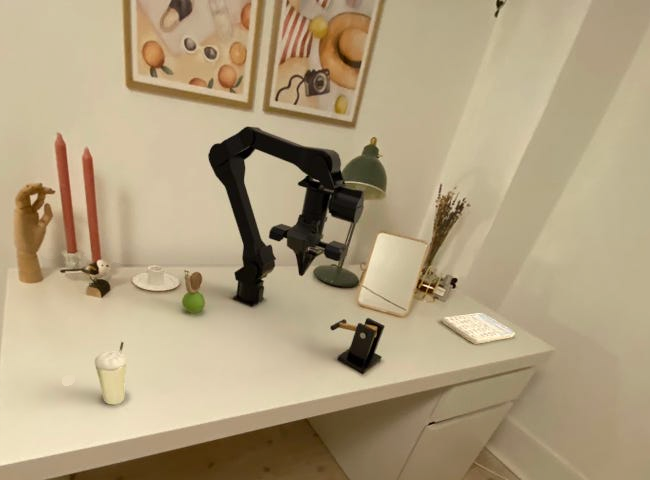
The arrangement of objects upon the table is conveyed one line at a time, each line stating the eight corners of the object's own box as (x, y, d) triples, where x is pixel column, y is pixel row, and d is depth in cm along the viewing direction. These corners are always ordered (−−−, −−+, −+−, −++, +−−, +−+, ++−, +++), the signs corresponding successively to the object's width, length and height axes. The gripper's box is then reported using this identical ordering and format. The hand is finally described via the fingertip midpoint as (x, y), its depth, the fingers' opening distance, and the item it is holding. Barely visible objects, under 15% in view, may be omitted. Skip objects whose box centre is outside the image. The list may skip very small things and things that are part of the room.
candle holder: (188, 286, 105) (188, 272, 102) (151, 297, 96) (150, 281, 94) (161, 271, 110) (161, 257, 108) (123, 279, 101) (122, 264, 99)
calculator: (439, 321, 116) (442, 316, 115) (480, 316, 125) (482, 311, 124) (474, 345, 107) (477, 339, 106) (514, 337, 116) (518, 332, 115)
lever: (330, 332, 88) (330, 322, 87) (342, 325, 92) (342, 316, 91) (368, 341, 82) (369, 331, 81) (379, 334, 86) (380, 324, 85)
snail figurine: (175, 313, 92) (175, 267, 85) (190, 304, 97) (192, 259, 90) (194, 320, 90) (196, 274, 84) (208, 311, 96) (211, 266, 89)
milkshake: (137, 393, 67) (134, 346, 61) (116, 411, 62) (111, 362, 57) (115, 384, 68) (110, 337, 62) (93, 401, 63) (86, 352, 58)
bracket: (336, 360, 87) (348, 323, 82) (355, 347, 94) (367, 313, 88) (362, 374, 84) (375, 337, 79) (380, 360, 91) (393, 325, 85)
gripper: (262, 204, 82) (253, 271, 91) (340, 228, 77) (322, 297, 86) (284, 199, 91) (274, 261, 100) (356, 220, 86) (339, 284, 94)
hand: (301, 275), depth 94 cm, fingers closed
